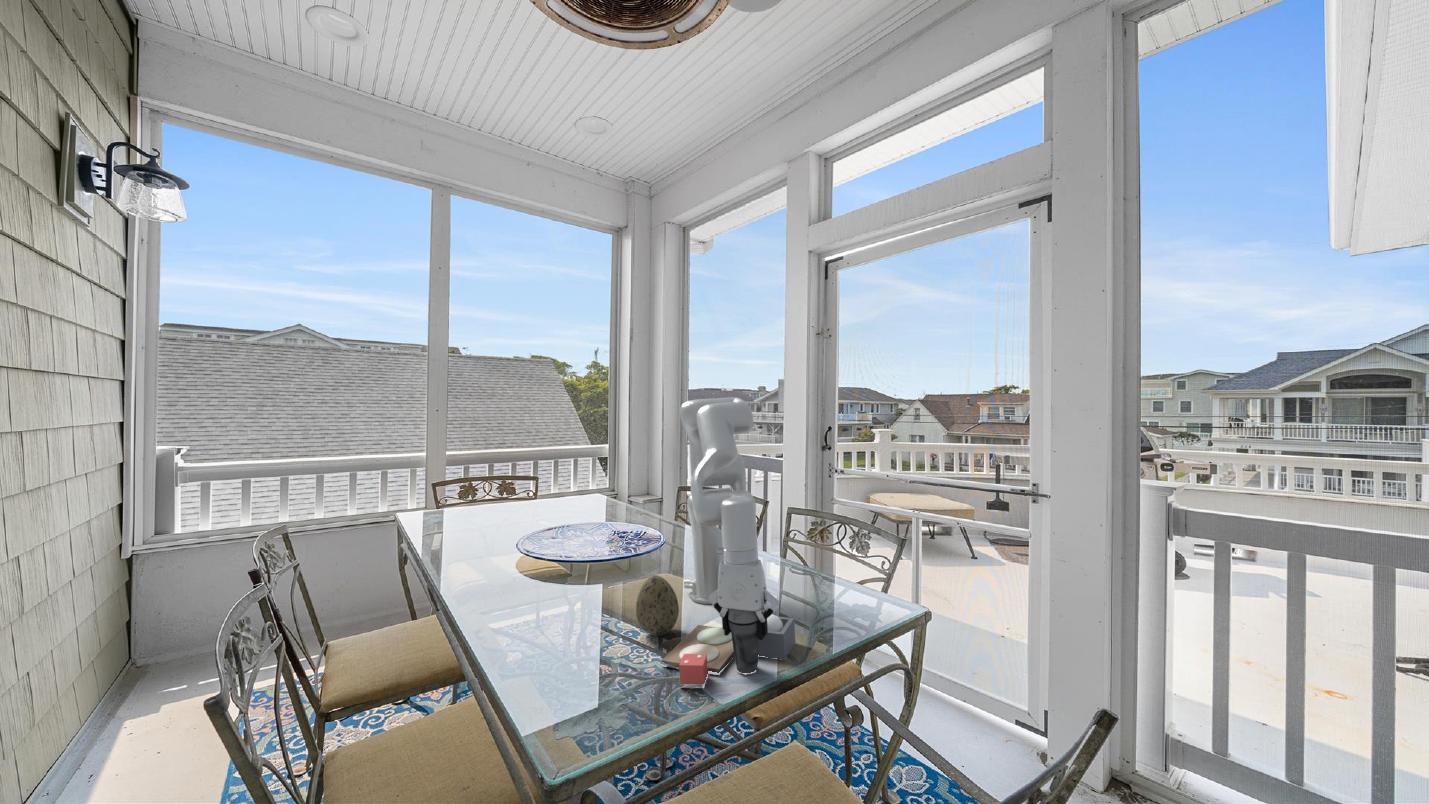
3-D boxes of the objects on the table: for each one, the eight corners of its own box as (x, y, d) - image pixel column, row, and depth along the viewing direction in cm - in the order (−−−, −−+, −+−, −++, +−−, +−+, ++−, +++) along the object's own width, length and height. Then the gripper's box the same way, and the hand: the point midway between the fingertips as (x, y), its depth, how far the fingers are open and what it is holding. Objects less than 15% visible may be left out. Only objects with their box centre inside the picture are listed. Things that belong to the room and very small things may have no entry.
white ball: (754, 644, 134) (753, 619, 134) (763, 633, 140) (761, 609, 139) (779, 647, 132) (778, 621, 132) (787, 636, 137) (785, 611, 137)
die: (680, 688, 121) (679, 664, 120) (685, 676, 126) (683, 653, 125) (704, 689, 120) (702, 664, 120) (708, 676, 125) (706, 653, 125)
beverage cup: (728, 663, 130) (723, 575, 129) (760, 660, 131) (756, 572, 130) (732, 680, 123) (727, 587, 122) (766, 676, 123) (761, 584, 123)
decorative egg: (633, 630, 151) (629, 573, 150) (673, 621, 155) (669, 566, 154) (643, 647, 141) (639, 586, 140) (685, 637, 145) (681, 578, 144)
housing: (746, 655, 133) (745, 629, 133) (759, 638, 142) (758, 614, 141) (784, 660, 130) (783, 634, 130) (795, 643, 138) (794, 618, 138)
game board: (662, 667, 130) (661, 659, 130) (698, 630, 148) (698, 623, 148) (719, 676, 125) (718, 667, 125) (750, 637, 143) (749, 630, 143)
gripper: (697, 557, 126) (701, 637, 126) (773, 563, 119) (778, 648, 119) (710, 547, 133) (715, 623, 133) (784, 552, 126) (788, 632, 126)
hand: (745, 634), depth 126 cm, fingers closed on beverage cup, 7 cm apart
